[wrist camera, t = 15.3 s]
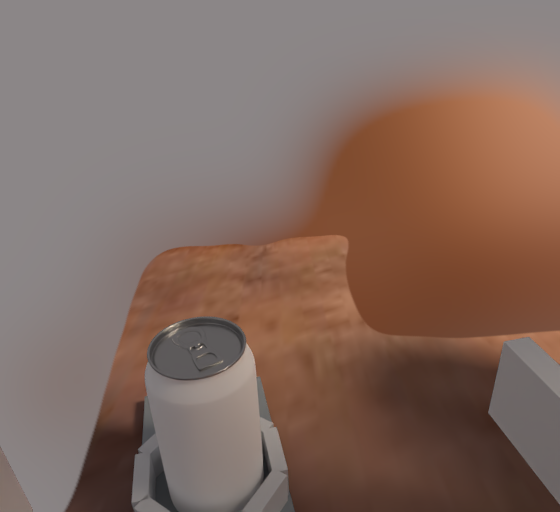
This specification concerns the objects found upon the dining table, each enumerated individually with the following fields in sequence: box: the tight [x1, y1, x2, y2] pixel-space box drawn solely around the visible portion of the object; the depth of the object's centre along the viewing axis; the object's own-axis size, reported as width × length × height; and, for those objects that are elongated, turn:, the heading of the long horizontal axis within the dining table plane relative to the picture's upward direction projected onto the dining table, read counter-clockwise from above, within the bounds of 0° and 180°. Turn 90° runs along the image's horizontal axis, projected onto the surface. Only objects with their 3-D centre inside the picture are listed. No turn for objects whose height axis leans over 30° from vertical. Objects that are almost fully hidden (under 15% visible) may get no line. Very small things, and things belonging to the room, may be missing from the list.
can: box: [145, 317, 264, 512], centre depth 29 cm, size 6×6×12 cm
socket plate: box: [131, 377, 295, 512], centre depth 32 cm, size 10×20×4 cm, turn 12°
